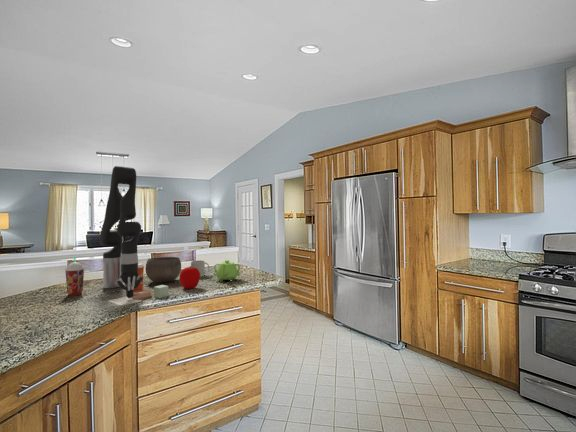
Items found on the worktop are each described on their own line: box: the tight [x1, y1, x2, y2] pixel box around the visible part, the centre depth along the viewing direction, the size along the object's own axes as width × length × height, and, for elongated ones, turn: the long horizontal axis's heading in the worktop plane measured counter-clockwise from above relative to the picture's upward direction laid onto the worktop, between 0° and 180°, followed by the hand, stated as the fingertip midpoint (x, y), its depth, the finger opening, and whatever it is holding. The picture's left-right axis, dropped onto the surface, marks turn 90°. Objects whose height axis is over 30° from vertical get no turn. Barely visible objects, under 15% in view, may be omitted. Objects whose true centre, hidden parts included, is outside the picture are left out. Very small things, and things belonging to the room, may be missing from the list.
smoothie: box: [64, 256, 85, 297], centre depth 166 cm, size 8×8×20 cm
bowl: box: [145, 256, 182, 283], centre depth 196 cm, size 21×21×15 cm
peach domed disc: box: [132, 289, 152, 300], centre depth 158 cm, size 9×9×2 cm
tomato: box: [179, 265, 201, 290], centre depth 177 cm, size 11×11×13 cm
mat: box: [108, 296, 143, 307], centre depth 155 cm, size 17×26×1 cm, turn 144°
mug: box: [190, 260, 210, 278], centre depth 213 cm, size 11×10×10 cm
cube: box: [153, 284, 169, 299], centre depth 159 cm, size 5×5×5 cm
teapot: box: [213, 259, 242, 282], centre depth 199 cm, size 16×14×13 cm
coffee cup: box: [133, 262, 145, 292], centre depth 171 cm, size 8×8×15 cm
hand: (129, 297), depth 153 cm, fingers closed
